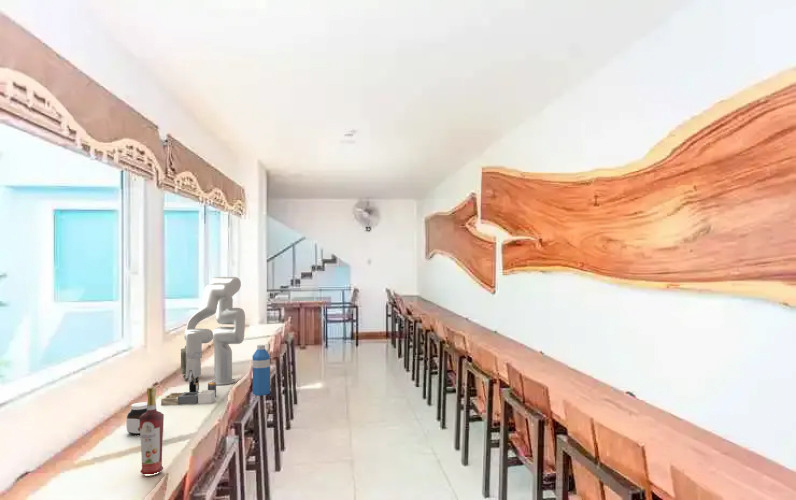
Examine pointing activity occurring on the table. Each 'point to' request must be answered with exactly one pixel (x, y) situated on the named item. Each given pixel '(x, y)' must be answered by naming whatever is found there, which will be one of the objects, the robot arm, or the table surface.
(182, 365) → the olive tall ribbed piece
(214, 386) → the black cell
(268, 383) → the water bottle
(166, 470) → the table surface
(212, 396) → the cup
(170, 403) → the trough
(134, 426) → the spread jar
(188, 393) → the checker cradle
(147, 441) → the liquor
